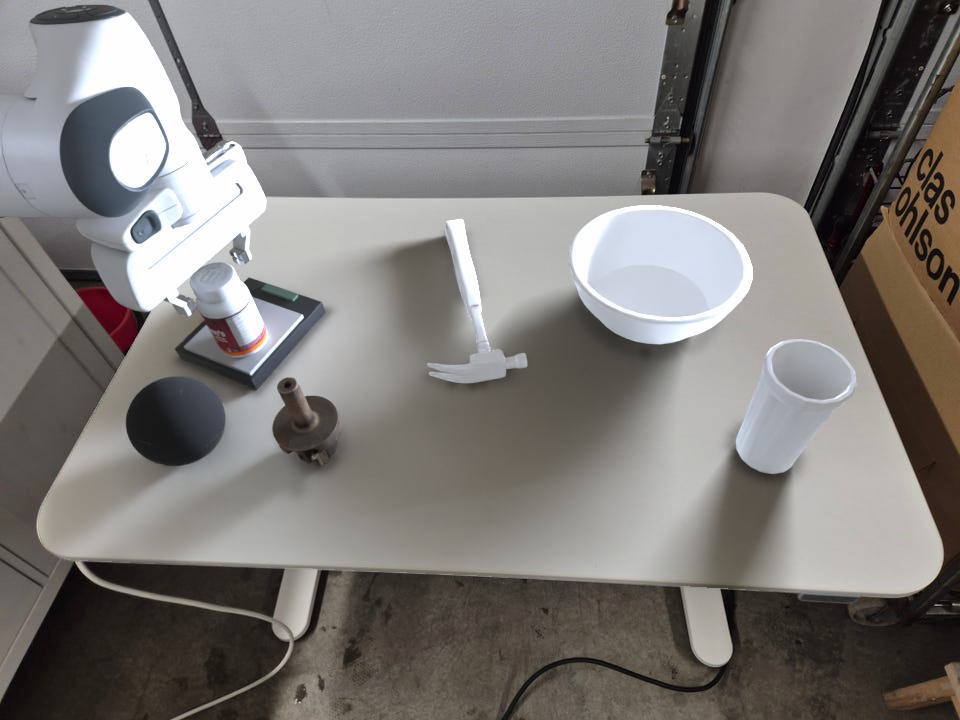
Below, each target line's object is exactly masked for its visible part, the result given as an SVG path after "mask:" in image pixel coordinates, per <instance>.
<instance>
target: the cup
mask: <svg viewBox="0 0 960 720" xmlns="http://www.w3.org/2000/svg"><path fill="white" fill-rule="evenodd" d="M761 370H762V371H761V374H760V376H759V379H758V381H757V384H756V387H755V390H754V392H753V395H752V396H751V400H750V403H749V405H748V407H747V410H746V413H745V416H744V418H743V421H742V423H741V426H740V428H739V430H738V433H737V436H736V438H735V449H736V452H737V453H738V455H739V458H740V459H741V460H742V461H743V462H744V463H745V464H746V465H747V466H749V467H750V468H751V469H754V470H756V471H758V472H760V473H764V474H771V475H776V474H781V473H782V474H783V473H786V471H789V469H791V468H792V467H793V466H794V464H795V462H796V461H797V460H798V458H799V457H800V456H801V454H802V453H803V452H804V450H805V449H806V447H807V446H808V445H809V444H810V443H811V441H812V440H813V438H814V437H815V436H816V434H817V433H818V432H819V431H820V429H821V428H822V427H823V425H824V424H825V423H826V422H827V420H828V419H829V418H830V417H831V415H832V414H833V412H834V411H835V410H837V409H839V408H840V407H841V406H843V405H844V404H846V403H847V402H848V401H849V400H850V399H851V398H852V397H853V396H854V393H855V390H856V389H857V386H858V382H857V377H856V371H855V368H853V366H852V365H851V363H850V362H849V360H848V359H847V357H846V356H844V355H843V354H841V353H840V352H839V351H838V350H836V349H835V348H833V347H832V346H830V345H827V344H825V343H822V342H819V341H817V340H813V339H812V340H811V339H803V338H794V339H787V340H782V341H781V342H779V343H777V344H776V345H773V346H772V347H770V348H769V349H768V351H767V352H766V355H765V357H764V359H763V362H762V366H761Z"/></svg>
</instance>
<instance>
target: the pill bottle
mask: <svg viewBox="0 0 960 720" xmlns="http://www.w3.org/2000/svg"><path fill="white" fill-rule="evenodd" d="M243 282H244V281H241V280H240V278H239V276H238V274H237V272H236V270H235V267H233V266H232V265H231V264H229V263H227V262H221V261H219V262H211V263H208V264H204V265H203V266H201V267H200V268H199V269H198V270H197V271H196V272H195V273H193V274H192V275H191V276H190V277H189V286H190V288H191V290H192V292H193V294H194V297H195V305H196V306H197V310H198V312H199V314H200V316H201V318H202V319H203V321H205V323H206V325H207V327H208V328H209V330H210V332H211V334H212V336H213V337H214V339H215V341H216V342H217V344H218V346H219V348H220V349H221V351H222V352H223V353H224V354H225V355H227V356H229V357H232V358H243V357H247V356H250V355H252V354H254V353H256V352H258V351H259V350H260V349H261V348H262V347H263V346H264V345H265V343H266V341H267V337H268V333H267V330H266V327H265V325H264V323H263V320H262V318H261V316H260V314H259V312H258V310H257V307H256V305H255V303H254V301H253V299H252V296H251V294H250V292H249V290H248V288H247V286H246V285H245V284H244V283H243Z"/></svg>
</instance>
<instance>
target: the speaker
mask: <svg viewBox="0 0 960 720" xmlns="http://www.w3.org/2000/svg"><path fill="white" fill-rule="evenodd" d="M226 419H227V418H226V410H225V407H224V404H223V402H222V400H221V398H220V396H219V395H218V393H217V392H216V391H215V390H214V389H213V388H212V387H211V386H210V385H208V384H206V382H205V383H204V382H203V381H201V380H199V379H196V378H194V377H189V376H185V375H183V376H182V375H173V376H172V375H171V376H166V377H162V378H159V379H155V380H154V381H152V382H150V383H148V384H147V385H145V386H144V387H143V388H141V389H140V390H139V391H138V392H137V393H136V395H135V396H134V397H133V399H132V400H131V402H130V403H129V406H128V408H127V411H126V416H125V429H126V435H127V438H128V440H129V442H130V444H131V446H132V447H133V449H135V451H136V452H137V453H138V454H139V455H140V456H142V457H143V458H144V459H146V460H148V461H149V462H152V463H154V464H158V465H161V466H167V467H180V466H185V465H190V464H192V463H195V462H198V461H199V460H201V459H203V458H204V457H206V456H208V455H209V454H210V453H211V452H212V451H213V450H214V449H215V448H216V446H217V445H218V444H219V443H220V441H221V439H222V437H223V435H224V432H225V427H226Z"/></svg>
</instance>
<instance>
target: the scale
mask: <svg viewBox="0 0 960 720" xmlns="http://www.w3.org/2000/svg"><path fill="white" fill-rule="evenodd" d="M242 282H243V283H244V284H245V285H246V286H247V288H248V290H249V292H250V294H251V296H252V299H253V301H254V303H255V305H256V307H257V310H258V312H259V314H260V316H261V318H262V320H263V323H264V325H265V327H266V330H267V333H268V337H267V341H266V343H265V345H264V346H263V347H262V348H261V349H260V350H259V351H258V352H256V353H254V354H252V355H250V356H247V357H243V358H232V357H229V356H227V355H225V354H224V353H223V352H222V351H221V349H220V348H219V346H218V344H217V342H216V341H215V339H214V337H213V336H212V334H211V332H210V330H209V328H208V327H207V325H206V323H205V321H204V320H203V321H201V323H200V324H199V325H198V326H196V327H195V328H194V330H192V331H191V332H190V333H189V334H188V335H187V336H186V337H185V338H184V339H183V340H182V341H180V343H179V344H178V345H177V346H176V347H175V348H174V351H175V352H176V354H177V356H178V357H179V358H180V360H183V361H186V362H187V363H189V364H190V363H191V364H193V365H196V366H198V367H200V368H202V369H205V370H207V371H210V372H212V373H215V374H217V375H219V376H222V377H224V378H227V379H229V380H231V381H234V382H236V383H239V384H241V385H244V386H246V387H248V388H251V389H254V390H256V391H257V390H258V389H260V387H261V386H262V385H263V384H264V383H265V381H266V380H267V379H268V378H269V377H270V376H271V374H272V373H273V372H274V371H275V370H276V369H277V368H278V367H279V366H280V365H281V364H282V362H283V361H284V360H285V359H286V358H287V356H288V355H289V354H290V353H291V352H292V351H293V349H294V348H295V347H296V346H297V345H298V344H299V343H300V341H302V340H303V338H304V337H305V336H306V335H307V334H308V333H309V331H310V330H311V329H312V328H313V327H314V326H315V324H317V322H318V321H319V320H320V319H321V318H322V317H323V316H324V314H325V313H326V310H325V306H324V304H323V302H322V301H321V300H318V299H315V298H311V297H309V296H305V295H303V294H300V293H297V292H293V291H290V290H288V289H286V288H283V287H279V286H276V285H273V284H270V283H267V282H264V281H261V280H258V279H255V278H252V277H247V278H246V279H245V280H244V281H242Z"/></svg>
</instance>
